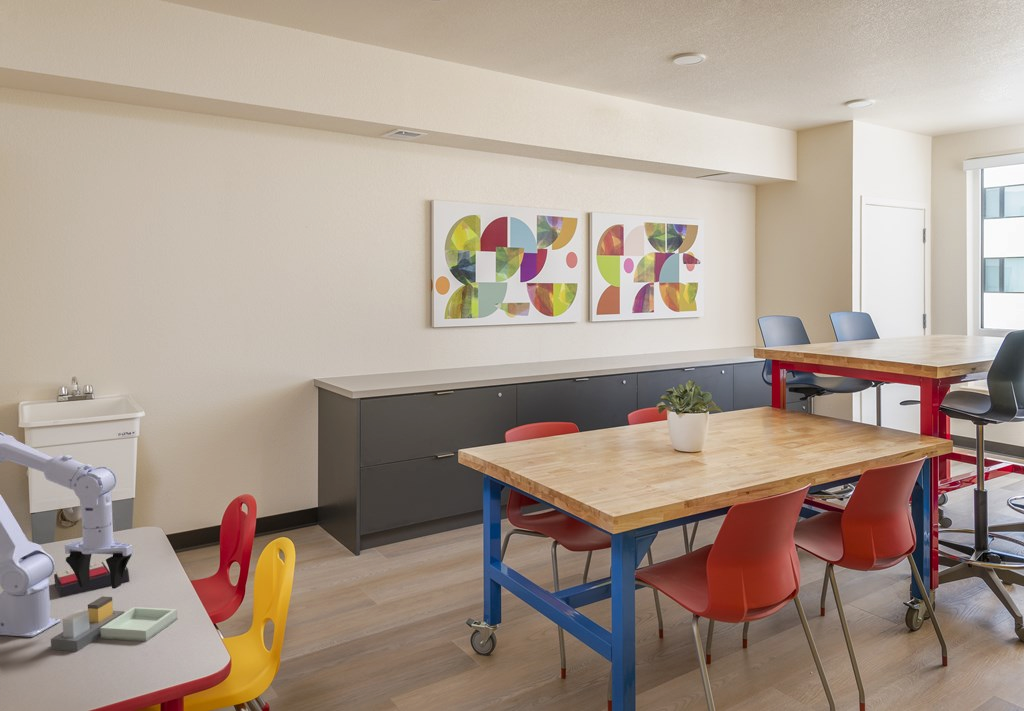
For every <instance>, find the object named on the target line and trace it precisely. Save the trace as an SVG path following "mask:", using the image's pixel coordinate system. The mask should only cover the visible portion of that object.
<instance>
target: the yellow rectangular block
mask: <svg viewBox="0 0 1024 711" xmlns="http://www.w3.org/2000/svg"><path fill="white" fill-rule="evenodd" d="M113 607H114V606H113V596H103V595H102V596H100V597H99V598H97V599H95V600H94V601H92V602H90V603H88V604H87V610H88V611H89V622H92V623H99V622H101V621H103V620H104V619H106V618H108V617H109V616H111V615H113V611H114V610H113V609H114V608H113Z"/></svg>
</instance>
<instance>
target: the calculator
mask: <svg viewBox="0 0 1024 711" xmlns="http://www.w3.org/2000/svg"><path fill="white" fill-rule="evenodd" d="M129 574H130V573H129V568H128V567H127V566H126V568H125V571H124V574H123V578H122V583H121V585H122V584H124V583H130V575H129ZM53 576H54V577H53V578H54V585H55V587H56V589H57V593H58V594H59V597H60V598H65V597H70V596H73V595H78V594H83V593H86V592H90V591H95V590H98V589H101V588H105V587H109V586H110V587H112V586H111V576H110V571H109V567H108V565H107V562H106V559H105V560H103V561H95V562H90V580H89V584H87V585H85V586H84V587H80V586H79V583H78V580H77V578H76V575H75V573H74V571H73V569H72V568H71V567H70V568H67V569H64V570H59V571H56V573H53Z"/></svg>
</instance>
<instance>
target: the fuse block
mask: <svg viewBox="0 0 1024 711" xmlns="http://www.w3.org/2000/svg"><path fill="white" fill-rule="evenodd" d="M123 613H125V611H123V610H113V615H111V616H109V617H108V618H106V619H104V620H103V621H101V622H99V623H92V622H89V625H90V629H88V630H86V631H85V632H83V633H82V634H80V635H78V636H77V637H75V638H65V637H63V631H62V632H59V634H57V635H55V636H53V637H52V638H50V648H51V650H52V651H53V650H54V651H68V652H69V651H70V652H79V651H80V650H82V649H84V648H85V647H86V646H88V645H90V644H91V643H92V642H94V641H96V640H98V639H99V638H101V632H100V628H101V627H102V626H104V625H106V624H107V623H109V622H110V621H112V620H114V619H115V618H117V617H118V616H120V615H122V614H123Z"/></svg>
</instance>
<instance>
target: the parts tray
mask: <svg viewBox="0 0 1024 711" xmlns="http://www.w3.org/2000/svg"><path fill="white" fill-rule="evenodd" d="M177 620H178V608H165V607H163V608H161V607H146V606H133V607H131V608H130V609H128V610H127V611H124V613H123V614H122V615H120V616H118V617H117V618H115V619H114V620H112V621H110V622H109V623H107V624H106V625H104V626H102V627H101V628H100V632H101V637H100V639H102V640H103V639H105V640H118V641H119V640H122V641H135V642H148V641H149V640H150V639H152V638H154V637H155V636H156V635H158V634H159V633H160V632H162V631H163V630H165V629H166V628H167V627H168V626H170V625H172V624H173V623H174V622H176V621H177Z"/></svg>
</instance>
